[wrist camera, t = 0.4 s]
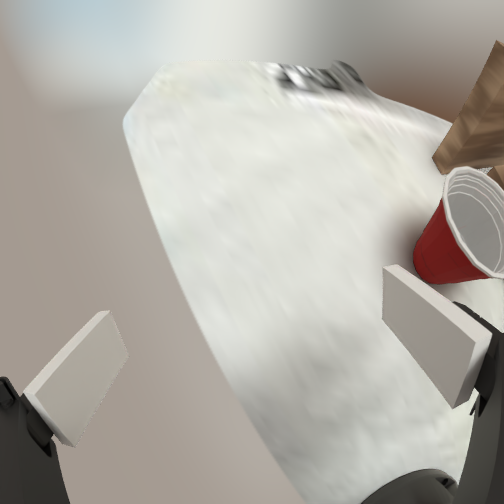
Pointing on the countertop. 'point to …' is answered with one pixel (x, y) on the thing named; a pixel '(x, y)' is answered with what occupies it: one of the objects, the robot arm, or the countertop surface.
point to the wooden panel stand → (479, 125)
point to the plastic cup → (464, 231)
